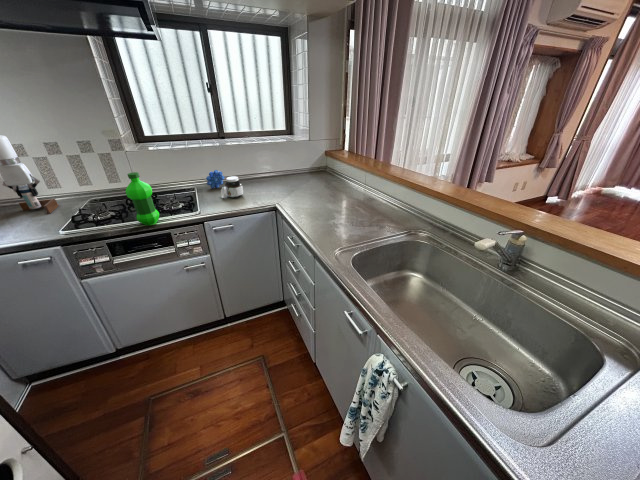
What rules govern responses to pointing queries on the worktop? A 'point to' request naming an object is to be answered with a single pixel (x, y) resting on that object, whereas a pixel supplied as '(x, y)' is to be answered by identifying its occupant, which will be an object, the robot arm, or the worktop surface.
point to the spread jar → (232, 188)
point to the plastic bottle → (142, 200)
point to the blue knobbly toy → (215, 179)
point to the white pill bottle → (29, 197)
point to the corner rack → (42, 205)
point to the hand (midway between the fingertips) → (29, 196)
